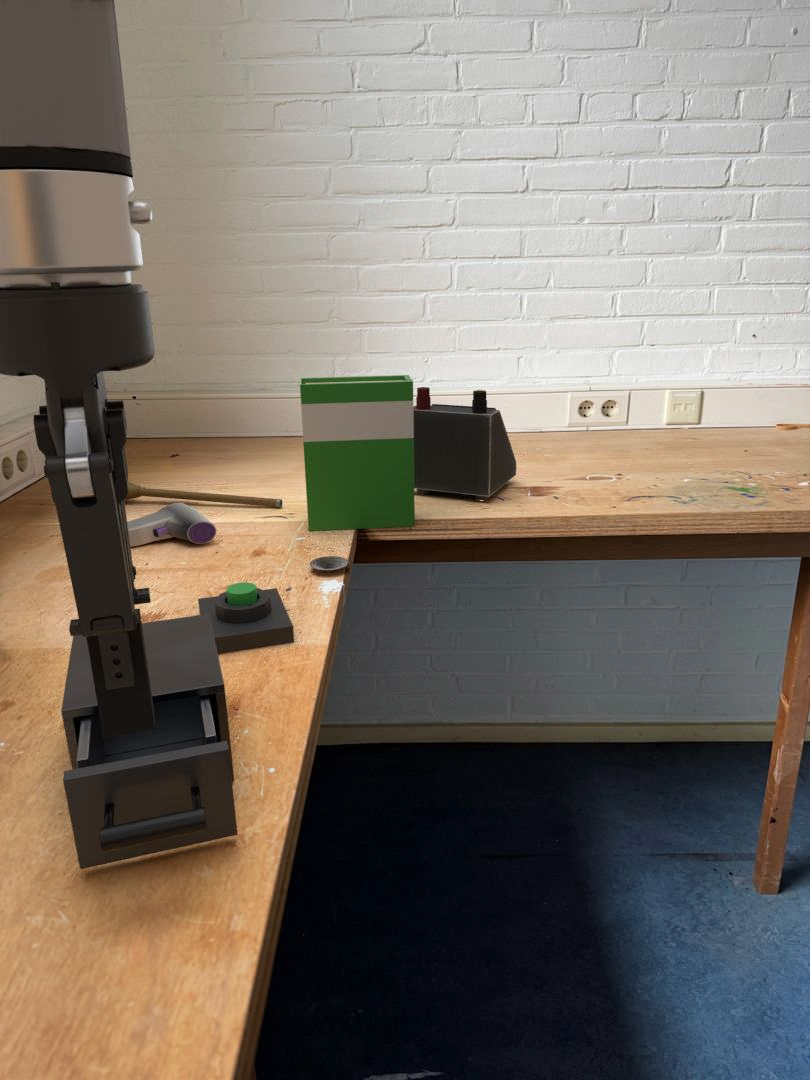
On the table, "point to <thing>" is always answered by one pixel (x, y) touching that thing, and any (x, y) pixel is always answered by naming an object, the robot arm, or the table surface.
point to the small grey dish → (329, 563)
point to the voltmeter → (460, 447)
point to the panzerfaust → (200, 496)
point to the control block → (248, 622)
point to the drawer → (150, 786)
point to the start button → (241, 593)
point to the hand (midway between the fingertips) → (129, 724)
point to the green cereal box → (358, 451)
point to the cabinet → (155, 674)
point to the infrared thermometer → (171, 526)
